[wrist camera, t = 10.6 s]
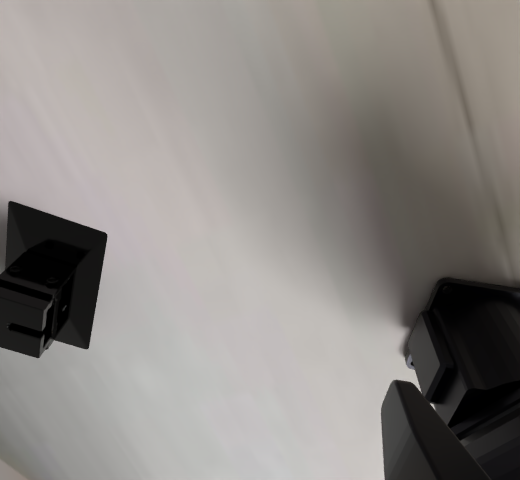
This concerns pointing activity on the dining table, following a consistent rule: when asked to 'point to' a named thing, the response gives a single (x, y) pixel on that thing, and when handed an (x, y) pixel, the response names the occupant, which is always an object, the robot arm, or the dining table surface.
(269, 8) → the dining table surface
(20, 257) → the black angular piece
